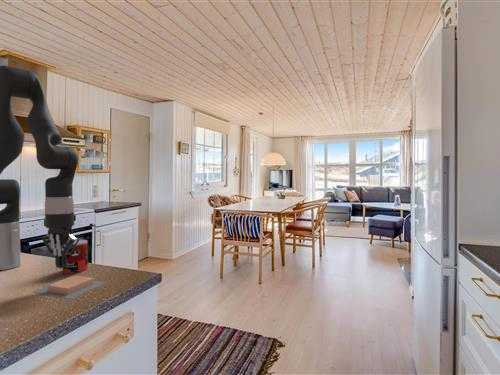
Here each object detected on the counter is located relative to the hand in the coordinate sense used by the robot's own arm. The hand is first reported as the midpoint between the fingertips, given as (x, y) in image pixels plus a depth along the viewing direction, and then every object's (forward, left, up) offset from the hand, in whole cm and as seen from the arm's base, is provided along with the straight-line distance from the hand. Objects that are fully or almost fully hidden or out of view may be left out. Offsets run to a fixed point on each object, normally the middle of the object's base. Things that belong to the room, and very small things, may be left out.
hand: (61, 267), depth 91 cm
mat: (+3, 0, -6) cm, 7 cm away
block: (0, 0, -5) cm, 5 cm away
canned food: (-9, +13, -7) cm, 17 cm away
